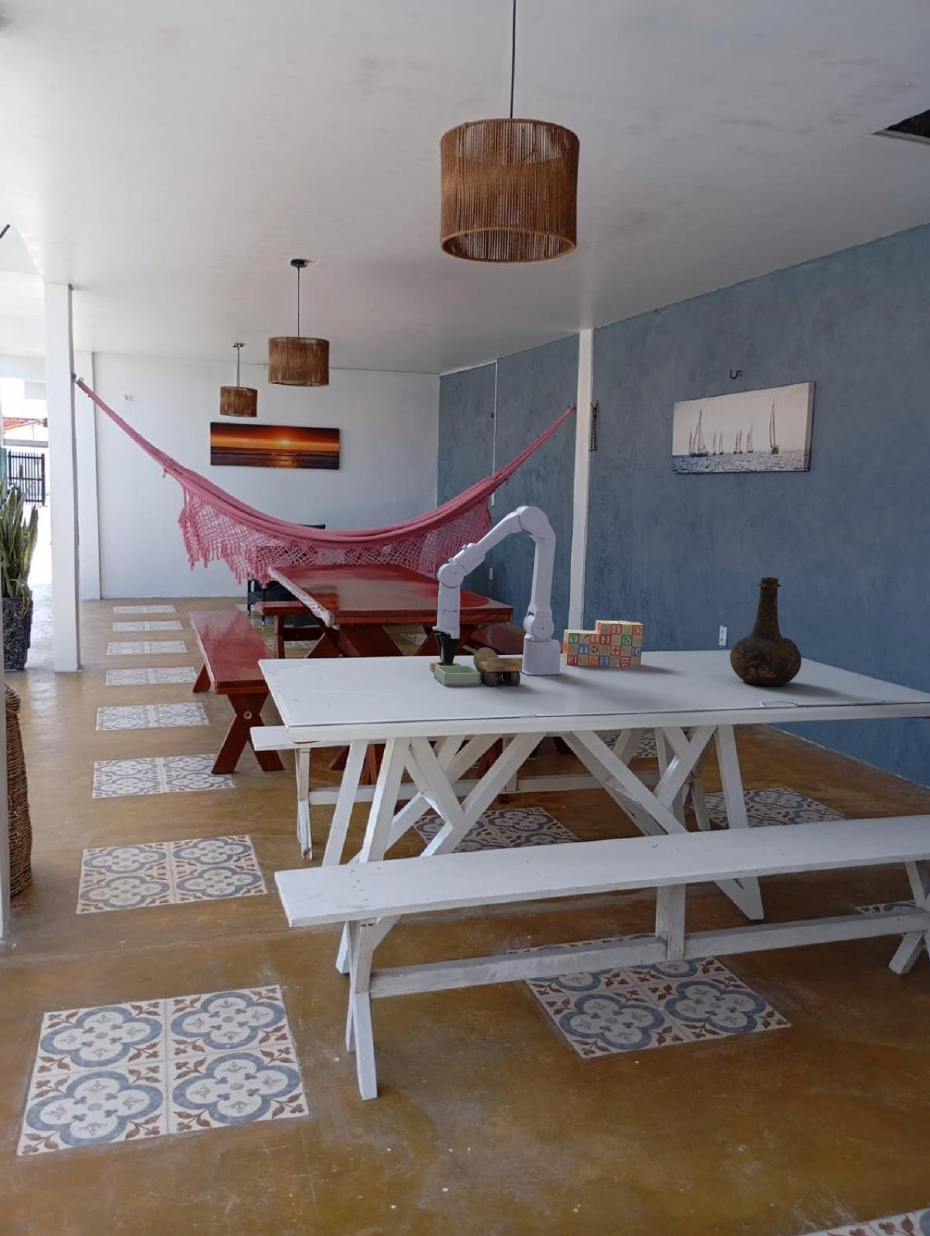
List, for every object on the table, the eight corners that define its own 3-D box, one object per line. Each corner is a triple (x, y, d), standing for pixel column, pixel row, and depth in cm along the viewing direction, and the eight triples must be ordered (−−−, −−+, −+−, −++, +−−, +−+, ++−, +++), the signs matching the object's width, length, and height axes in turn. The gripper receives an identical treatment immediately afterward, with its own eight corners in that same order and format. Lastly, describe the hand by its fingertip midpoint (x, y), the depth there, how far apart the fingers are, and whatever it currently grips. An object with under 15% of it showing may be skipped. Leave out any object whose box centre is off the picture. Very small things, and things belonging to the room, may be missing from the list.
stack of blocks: (566, 665, 272) (568, 621, 270) (562, 661, 278) (564, 618, 277) (641, 667, 274) (643, 624, 272) (635, 663, 280) (638, 621, 278)
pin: (450, 670, 256) (451, 642, 255) (453, 672, 253) (454, 644, 252) (439, 670, 255) (440, 642, 254) (442, 672, 252) (443, 644, 251)
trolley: (511, 680, 246) (512, 653, 245) (521, 686, 239) (523, 658, 238) (477, 680, 243) (478, 653, 242) (487, 687, 236) (488, 658, 235)
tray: (468, 677, 247) (468, 665, 247) (480, 685, 238) (480, 673, 238) (434, 678, 245) (434, 666, 244) (444, 686, 235) (445, 673, 235)
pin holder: (455, 669, 258) (455, 661, 258) (462, 674, 252) (463, 666, 251) (429, 669, 256) (430, 661, 256) (436, 674, 250) (437, 666, 249)
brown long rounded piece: (468, 670, 258) (469, 645, 257) (493, 670, 260) (495, 645, 259) (480, 681, 244) (481, 655, 243) (507, 681, 245) (508, 655, 244)
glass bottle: (812, 690, 250) (821, 581, 247) (748, 690, 247) (757, 580, 243) (776, 676, 268) (785, 575, 264) (716, 676, 264) (724, 573, 260)
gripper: (426, 606, 258) (424, 657, 259) (441, 613, 244) (439, 667, 246) (452, 606, 260) (450, 656, 261) (468, 613, 246) (465, 666, 248)
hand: (446, 661), depth 254 cm, fingers closed on pin, 3 cm apart
